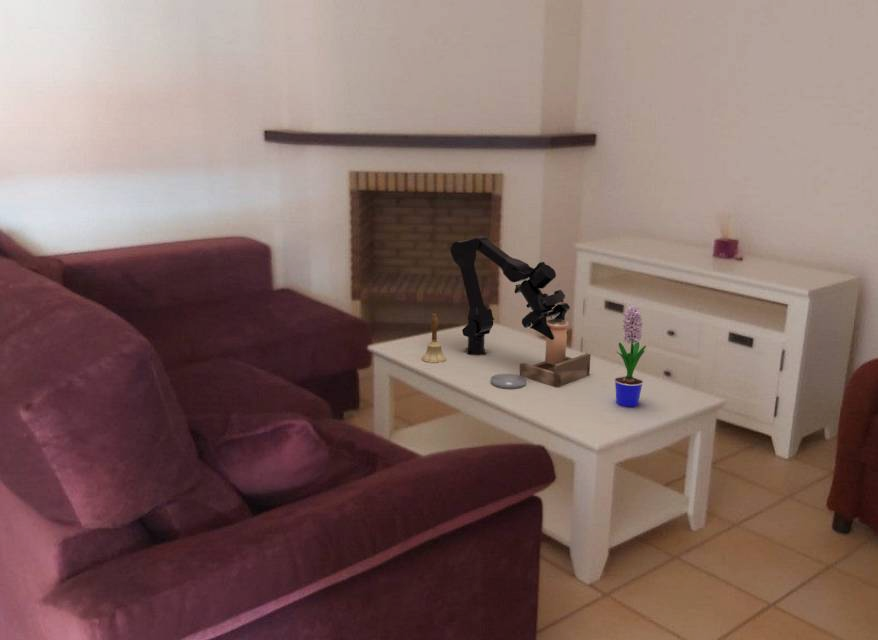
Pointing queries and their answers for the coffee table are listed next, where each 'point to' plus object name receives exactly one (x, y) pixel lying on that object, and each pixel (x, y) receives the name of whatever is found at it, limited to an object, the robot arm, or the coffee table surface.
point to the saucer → (508, 381)
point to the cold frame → (558, 371)
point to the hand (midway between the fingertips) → (560, 337)
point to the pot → (556, 341)
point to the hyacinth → (630, 360)
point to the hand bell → (434, 345)
